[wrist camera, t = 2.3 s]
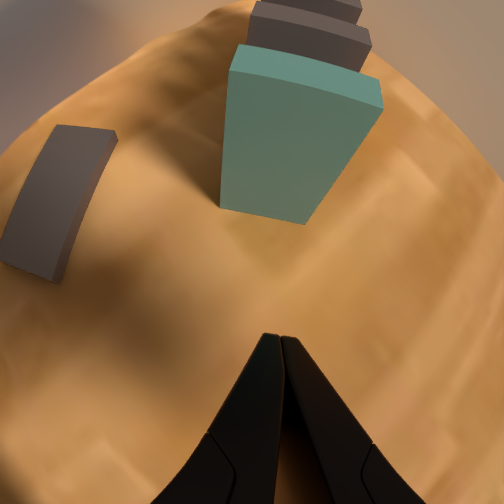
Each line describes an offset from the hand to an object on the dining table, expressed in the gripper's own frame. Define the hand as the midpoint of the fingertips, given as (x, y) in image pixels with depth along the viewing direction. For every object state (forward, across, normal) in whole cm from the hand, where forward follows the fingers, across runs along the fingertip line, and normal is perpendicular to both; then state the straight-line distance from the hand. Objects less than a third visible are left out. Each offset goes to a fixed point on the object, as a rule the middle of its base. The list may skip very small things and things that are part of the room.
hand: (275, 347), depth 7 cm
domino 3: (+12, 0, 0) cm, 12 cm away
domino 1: (+11, +13, +2) cm, 17 cm away
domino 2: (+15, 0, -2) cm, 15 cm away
